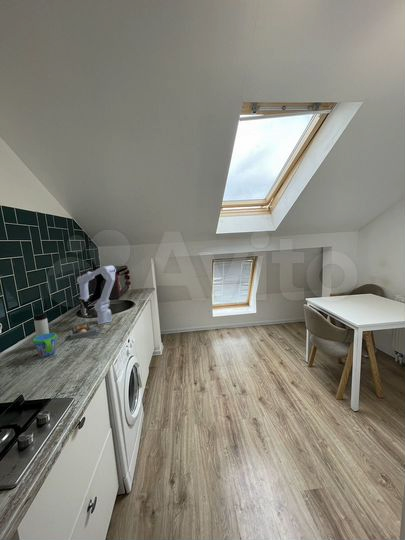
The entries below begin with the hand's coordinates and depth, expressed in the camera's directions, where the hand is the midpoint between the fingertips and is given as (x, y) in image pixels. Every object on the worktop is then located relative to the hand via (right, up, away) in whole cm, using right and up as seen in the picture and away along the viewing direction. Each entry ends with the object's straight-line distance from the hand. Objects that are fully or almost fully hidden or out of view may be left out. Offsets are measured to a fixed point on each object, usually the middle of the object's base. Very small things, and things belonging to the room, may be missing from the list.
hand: (86, 308), depth 176 cm
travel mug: (-4, -16, -41) cm, 44 cm away
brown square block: (+8, -12, -21) cm, 26 cm away
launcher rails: (+5, -12, -16) cm, 20 cm away
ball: (+13, -11, -28) cm, 33 cm away
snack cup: (+5, -17, -52) cm, 55 cm away
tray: (+12, -13, -27) cm, 32 cm away
